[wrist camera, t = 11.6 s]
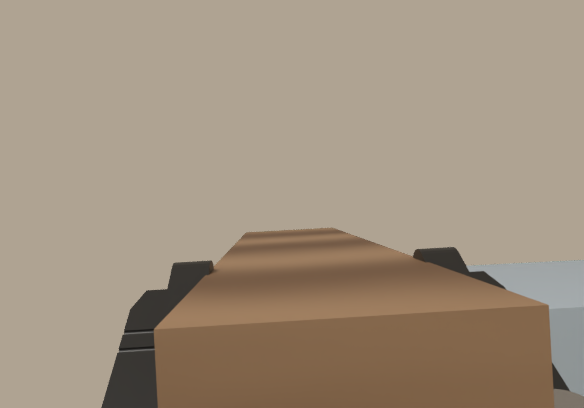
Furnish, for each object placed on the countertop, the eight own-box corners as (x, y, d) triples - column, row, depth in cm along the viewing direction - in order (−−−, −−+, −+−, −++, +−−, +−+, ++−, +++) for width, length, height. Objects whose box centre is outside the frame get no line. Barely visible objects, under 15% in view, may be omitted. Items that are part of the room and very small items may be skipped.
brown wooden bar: (570, 697, 6) (547, 305, 6) (174, 732, 5) (152, 328, 5) (336, 313, 26) (332, 227, 26) (250, 318, 25) (246, 232, 25)
